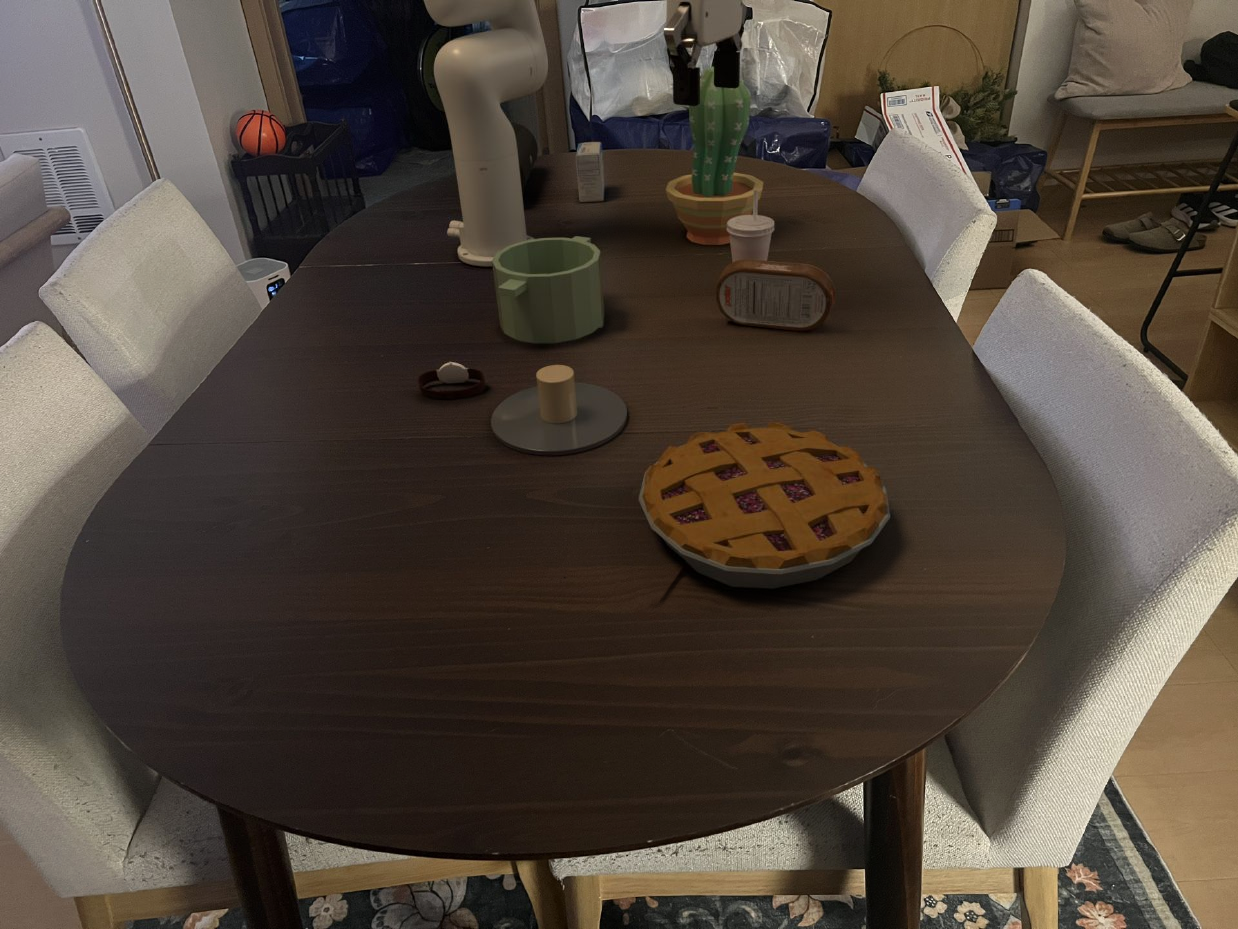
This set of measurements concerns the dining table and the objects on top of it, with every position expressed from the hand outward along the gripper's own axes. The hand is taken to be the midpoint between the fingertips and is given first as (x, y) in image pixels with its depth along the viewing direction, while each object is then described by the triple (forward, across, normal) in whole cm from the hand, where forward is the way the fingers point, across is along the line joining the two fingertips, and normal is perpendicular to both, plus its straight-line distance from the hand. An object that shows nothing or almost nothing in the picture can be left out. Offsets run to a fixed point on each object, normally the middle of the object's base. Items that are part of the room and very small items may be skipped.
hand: (707, 95), depth 108 cm
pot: (+28, +12, -16) cm, 34 cm away
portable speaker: (+28, -33, -60) cm, 74 cm away
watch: (+28, +33, -15) cm, 46 cm away
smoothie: (+28, -10, +1) cm, 29 cm away
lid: (+27, +33, 0) cm, 42 cm away
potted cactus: (+28, -27, -13) cm, 41 cm away
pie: (+28, +38, +26) cm, 54 cm away
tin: (+28, 0, +9) cm, 29 cm away
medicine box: (+28, -36, -43) cm, 63 cm away
